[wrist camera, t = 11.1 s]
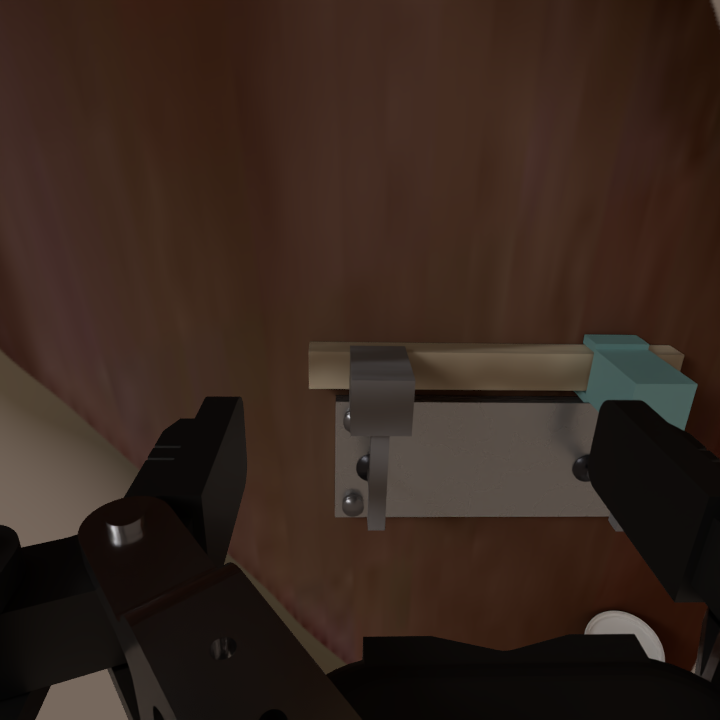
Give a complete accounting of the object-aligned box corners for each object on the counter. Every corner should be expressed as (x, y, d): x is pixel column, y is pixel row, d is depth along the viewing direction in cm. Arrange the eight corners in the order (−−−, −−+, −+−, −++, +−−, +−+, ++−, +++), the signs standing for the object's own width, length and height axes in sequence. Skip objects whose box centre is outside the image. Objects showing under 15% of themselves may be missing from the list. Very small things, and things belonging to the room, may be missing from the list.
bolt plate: (335, 394, 43) (335, 406, 41) (655, 397, 44) (669, 408, 42) (335, 508, 47) (334, 522, 45) (626, 507, 48) (637, 521, 47)
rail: (309, 335, 41) (303, 379, 34) (671, 339, 42) (741, 383, 35) (311, 469, 46) (306, 534, 38) (636, 469, 47) (692, 532, 39)
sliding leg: (584, 334, 41) (637, 378, 34) (635, 335, 42) (699, 378, 34) (558, 470, 46) (599, 535, 39) (603, 470, 46) (653, 534, 39)
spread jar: (573, 705, 58) (626, 833, 48) (519, 647, 55) (563, 773, 44) (675, 653, 56) (755, 777, 45) (625, 590, 52) (699, 708, 41)
